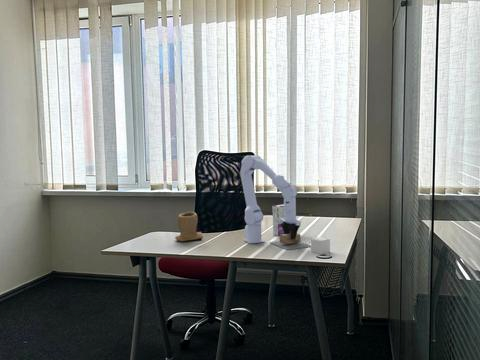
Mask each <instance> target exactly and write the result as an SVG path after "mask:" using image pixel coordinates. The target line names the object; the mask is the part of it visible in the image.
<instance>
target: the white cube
mask: <svg viewBox="0 0 480 360" xmlns="http://www.w3.org/2000/svg"><path fill="white" fill-rule="evenodd" d="M310 245H311V247H310V249H311V250H310V252H311V253H315V254H316V253H317V254H318V255H319V254H320V255H321V254H322V255H323V254H325V253H326V254H327V253H330V252H331V240H330V238H327V237H321V236H319V237H313V238H310Z"/></svg>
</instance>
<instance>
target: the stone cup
mask: <svg viewBox="0 0 480 360" xmlns="http://www.w3.org/2000/svg"><path fill="white" fill-rule="evenodd" d="M198 220H199V217H198V214H197V213H196V212H194V211H186V212H183V213H180V214H178V216H177V225H178V228H179V231H180V232H179V233H180V234H179V235H177V236H175V240H176V241H178V242H188V241H189V242H190V241H196V240H201V239H204V236H203V234H202V231H197V226H198Z"/></svg>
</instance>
